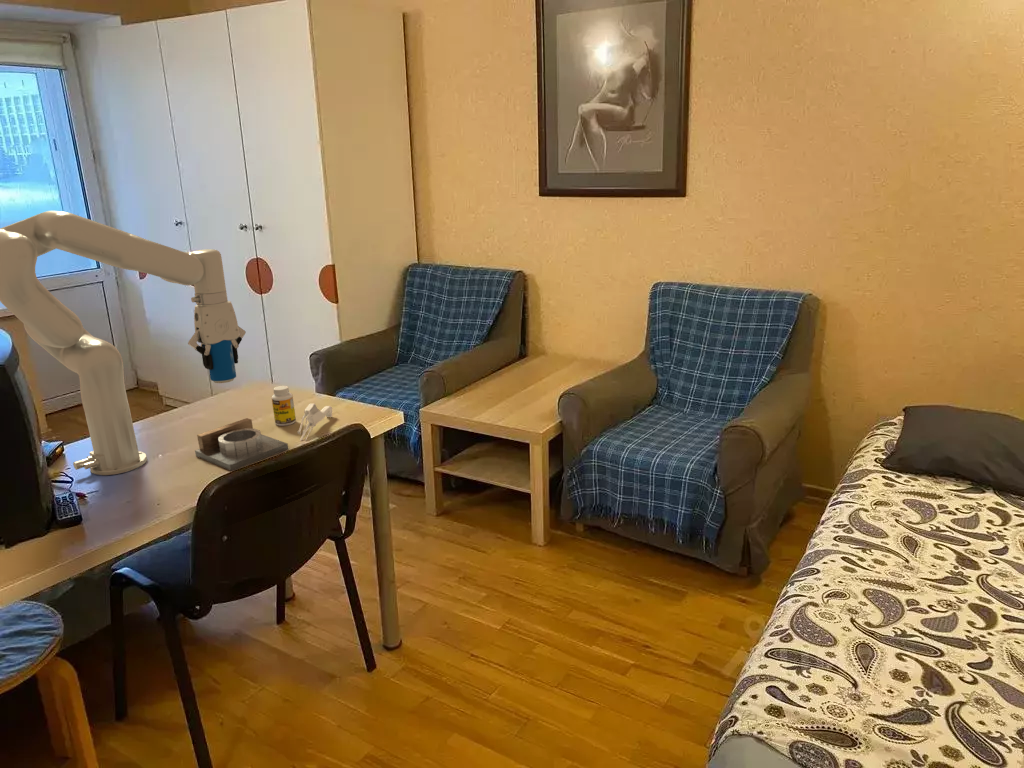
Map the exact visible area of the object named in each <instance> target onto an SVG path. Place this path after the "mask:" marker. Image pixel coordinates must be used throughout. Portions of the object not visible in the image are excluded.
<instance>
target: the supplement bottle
mask: <svg viewBox="0 0 1024 768" xmlns="http://www.w3.org/2000/svg"><path fill="white" fill-rule="evenodd" d="M271 402H272V410H273V416H274V423H275V425H276V426H279V427H285V426H290V425H293V424H295V423H296V421H297V419H296V417H297V416H296V411H295V410H296V409H295V405H294V403H295V402H294V396H293V394H292V392H290V389H289V386H287V385H278V386H275V387H274V388H273V395H272V396H271Z"/></svg>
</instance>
